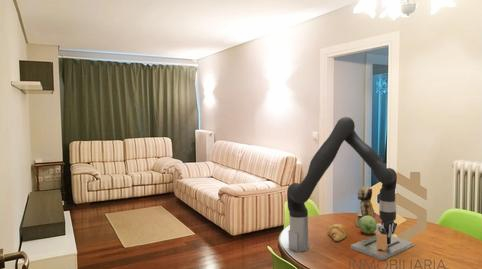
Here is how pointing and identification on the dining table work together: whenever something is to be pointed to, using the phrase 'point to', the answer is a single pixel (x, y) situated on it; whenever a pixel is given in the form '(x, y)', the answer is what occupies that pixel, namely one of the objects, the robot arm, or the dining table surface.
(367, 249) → the fader panel
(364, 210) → the plush toy
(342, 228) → the croissant
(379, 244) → the orange fader
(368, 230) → the decorative ball
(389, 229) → the robot arm
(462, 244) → the dining table surface
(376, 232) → the cream fader
